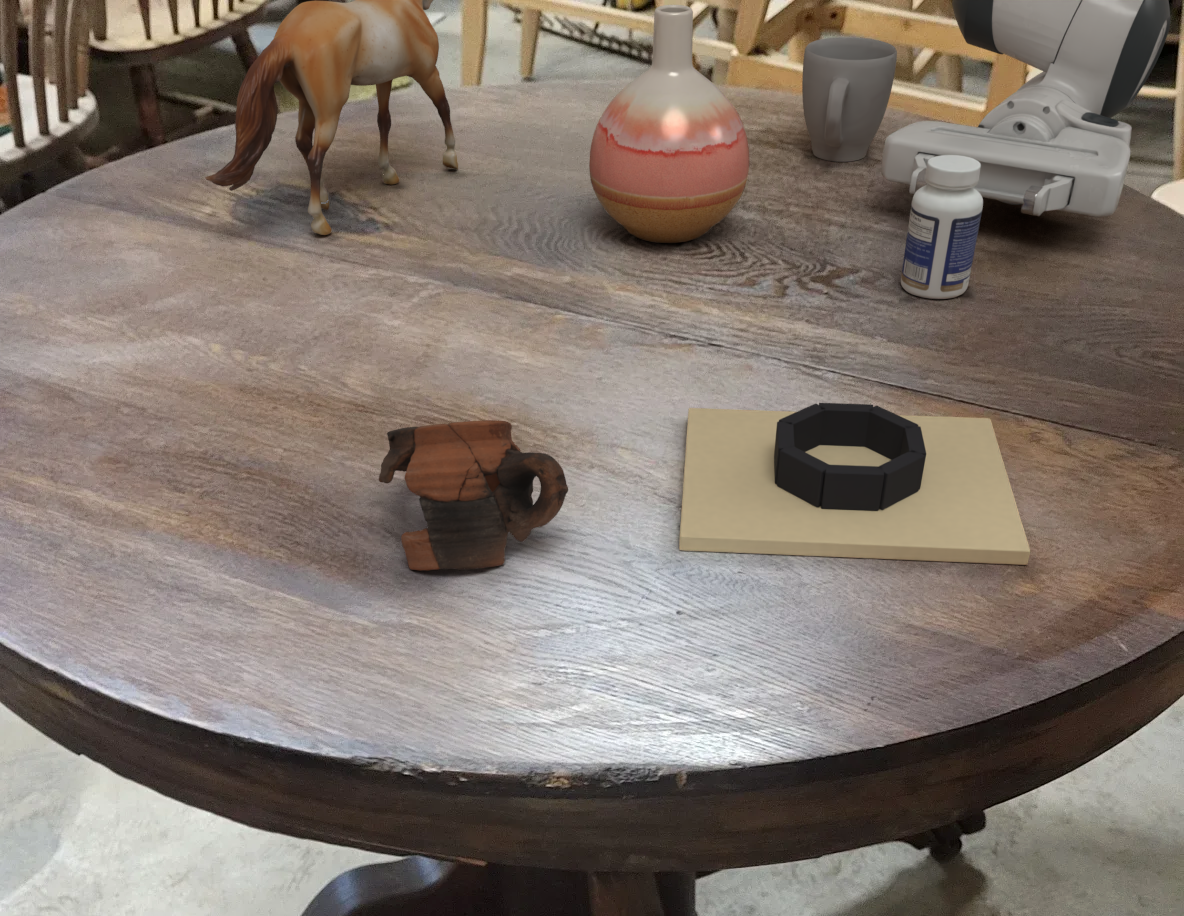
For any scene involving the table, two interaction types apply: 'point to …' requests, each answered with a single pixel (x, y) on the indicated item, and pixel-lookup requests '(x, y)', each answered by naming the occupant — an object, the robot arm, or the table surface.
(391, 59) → the horse figurine
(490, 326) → the table surface
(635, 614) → the table surface
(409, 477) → the pottery mug
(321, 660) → the table surface
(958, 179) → the pill bottle
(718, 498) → the socket pad
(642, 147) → the vase
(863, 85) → the mug
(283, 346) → the table surface
